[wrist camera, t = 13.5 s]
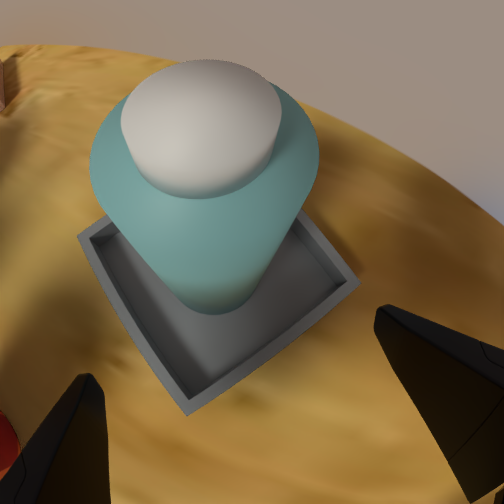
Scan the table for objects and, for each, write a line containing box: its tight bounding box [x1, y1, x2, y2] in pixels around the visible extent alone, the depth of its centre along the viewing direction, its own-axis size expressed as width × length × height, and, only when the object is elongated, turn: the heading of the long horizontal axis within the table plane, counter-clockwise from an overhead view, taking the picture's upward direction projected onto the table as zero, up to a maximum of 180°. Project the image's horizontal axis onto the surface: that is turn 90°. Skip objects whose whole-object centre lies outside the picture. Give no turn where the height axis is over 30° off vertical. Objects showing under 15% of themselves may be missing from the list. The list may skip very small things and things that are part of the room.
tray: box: [77, 208, 361, 416], centre depth 16 cm, size 11×11×2 cm
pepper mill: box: [89, 60, 319, 315], centre depth 11 cm, size 5×5×12 cm
